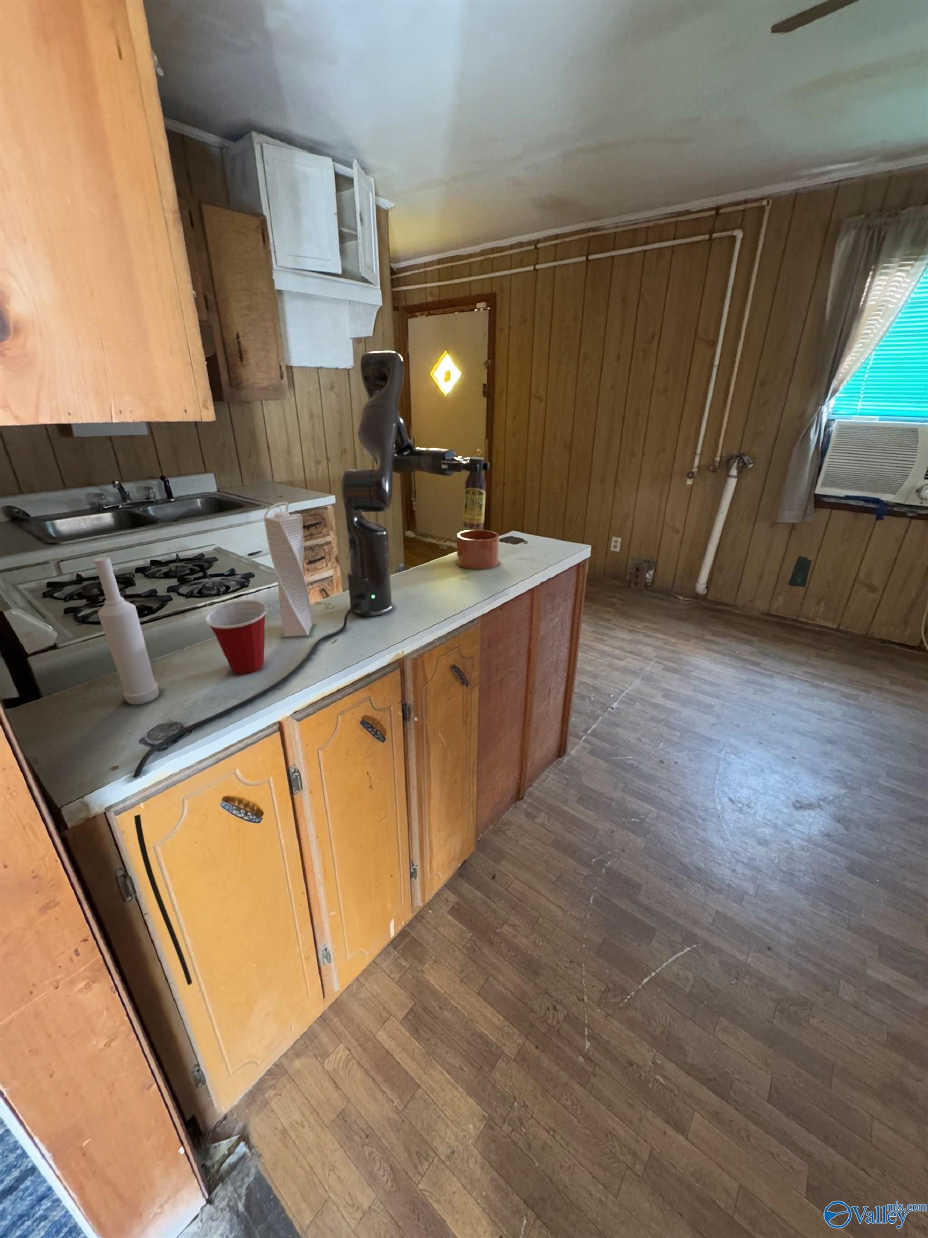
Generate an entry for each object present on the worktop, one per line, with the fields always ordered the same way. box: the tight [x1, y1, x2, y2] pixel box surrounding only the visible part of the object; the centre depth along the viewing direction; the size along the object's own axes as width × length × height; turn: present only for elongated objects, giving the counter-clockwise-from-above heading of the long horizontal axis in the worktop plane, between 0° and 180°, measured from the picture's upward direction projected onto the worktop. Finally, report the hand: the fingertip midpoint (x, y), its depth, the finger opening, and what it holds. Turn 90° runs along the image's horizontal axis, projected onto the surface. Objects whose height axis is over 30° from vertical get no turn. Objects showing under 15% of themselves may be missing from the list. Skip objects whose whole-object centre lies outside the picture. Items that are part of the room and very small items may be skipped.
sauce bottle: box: [462, 456, 487, 530], centre depth 146 cm, size 7×6×20 cm
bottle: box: [93, 556, 160, 706], centre depth 82 cm, size 5×5×25 cm
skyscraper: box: [263, 501, 314, 638], centre depth 106 cm, size 8×8×28 cm
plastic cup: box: [203, 599, 268, 675], centre depth 94 cm, size 11×11×12 cm
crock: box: [456, 529, 500, 570], centre depth 156 cm, size 13×13×9 cm
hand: (483, 467), depth 141 cm, fingers closed on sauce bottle, 4 cm apart
